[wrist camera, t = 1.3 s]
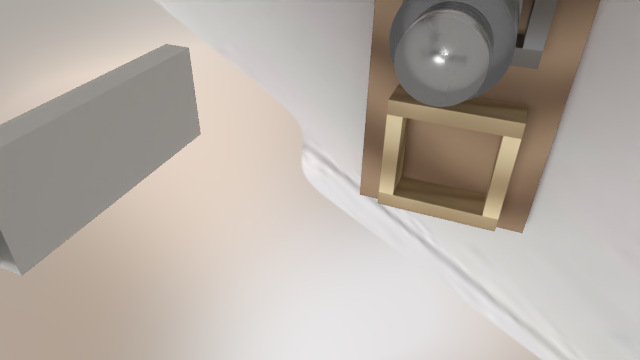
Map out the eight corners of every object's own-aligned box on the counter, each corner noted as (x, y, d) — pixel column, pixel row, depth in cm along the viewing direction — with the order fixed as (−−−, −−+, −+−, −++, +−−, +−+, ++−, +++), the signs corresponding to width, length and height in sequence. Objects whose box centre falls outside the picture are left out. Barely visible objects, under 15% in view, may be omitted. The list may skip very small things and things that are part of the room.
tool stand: (393, -147, 26) (373, -147, 23) (642, -142, 23) (657, -140, 20) (365, 184, 39) (349, 213, 36) (523, 220, 35) (520, 256, 32)
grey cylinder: (449, -71, 26) (379, -15, 15) (537, -65, 25) (529, 1, 14) (437, 13, 28) (369, 112, 18) (515, 22, 27) (495, 136, 16)
